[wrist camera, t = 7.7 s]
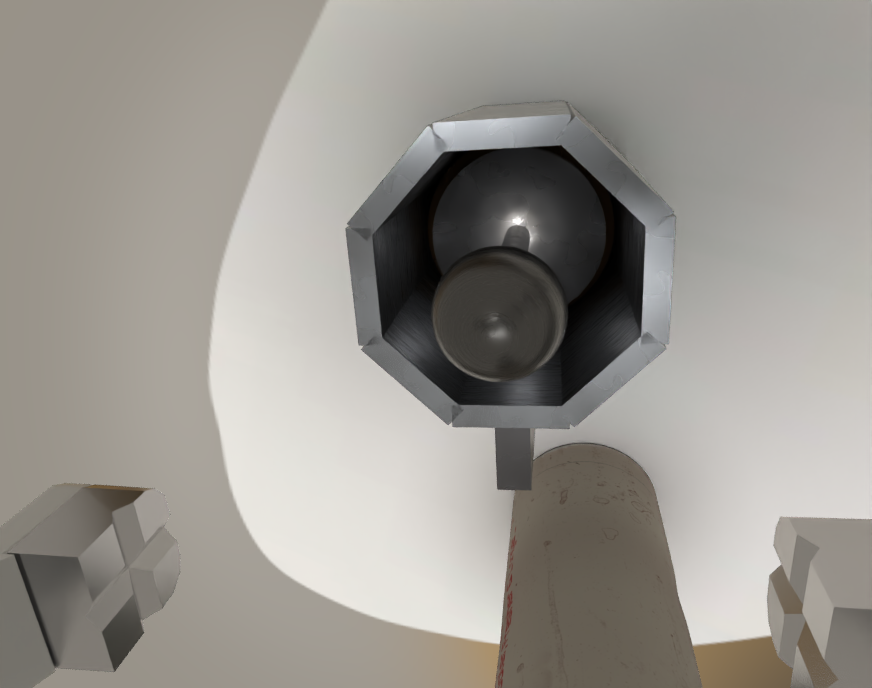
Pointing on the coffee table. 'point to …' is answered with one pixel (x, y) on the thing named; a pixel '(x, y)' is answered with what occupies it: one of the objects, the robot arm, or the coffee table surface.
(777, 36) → the coffee table surface
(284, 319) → the coffee table surface
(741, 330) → the coffee table surface
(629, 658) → the thermos bottle
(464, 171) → the plunger
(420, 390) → the octagonal steel cup
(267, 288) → the coffee table surface
